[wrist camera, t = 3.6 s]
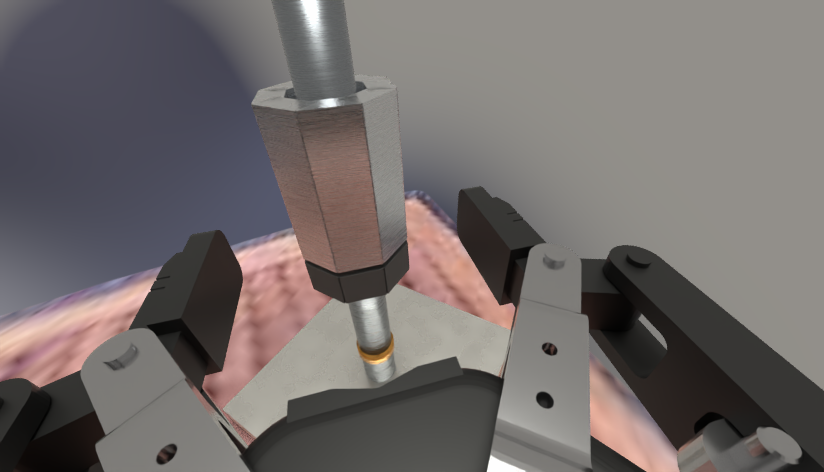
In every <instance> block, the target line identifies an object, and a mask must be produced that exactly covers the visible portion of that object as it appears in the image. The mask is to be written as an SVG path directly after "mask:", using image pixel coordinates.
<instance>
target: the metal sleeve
mask: <svg viewBox="0 0 824 472" xmlns="http://www.w3.org/2000/svg"><path fill="white" fill-rule="evenodd" d="M354 76H355V83H356V91H357V93H355V94H352V95H349V96H347V97H341V98H332V99H323V100H314V101H305V100H298V99H296V96H295V92H294V88H293V84H292V81H289V82H285V83H282V84H279V85H275V86H271V87H268V88H265V89H261V90H259V91H258V92H257V94H256V96H255V98H254V100H253V102H252V103H251V104H252V108H253V111H254V113H255V116H256V119H257V123H258V125H259V128H260V131H261V134H262V137H263V140H264V143H265V146H266V149H267V152H268V155H269V158H270V161H271V164H272V167H273V170H274V173H275V176H276V179H277V181H278V185H279V187H280V190H281V193H282V196H283V199H284V202H285V205H286V208H287V211H288V214H289V217H290V220H291V223H292V226H293V229H294V232H295V235H296V238H297V241H298V244H299V247H300V249H301V252H302V255H303V258H304V259H305V260H307V261H310V262H312V263H314V264H317V265H319V266H321V267H324V268H326V269H328V270H330V271H333V272H335V273H337V272H338V273H342V272H347V271H351V270H356V269H361V268H366V267H371V266H376V265H381V264H383V263H385V262H386V261H387V260H388V259H389V258H390V257H391V256H392V254H393V253H394V252H395V251H396V250H397V249H398V248H399V247H400V246H401V245H402V244H403V243H404V242H405V241H406V240H407V227H406V213H405V198H404V184H403V169H402V154H401V140H400V126H399V110H398V96H397V87H396V86H395V85H394V84H393V83H392V82H391V81H390V80H389V79H388V78H387V77H381V76H369V75H356V74H354Z"/></svg>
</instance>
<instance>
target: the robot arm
mask: <svg viewBox="0 0 824 472" xmlns="http://www.w3.org/2000/svg"><path fill="white" fill-rule="evenodd" d="M458 197H459V198H458V214H457V231H458V236H459V239H460V241H461V243H462V244H463V246H464V248H465V249H466V251H467V252H468V254H469V256H470V257H471V259H472V261H473V262H474V264H475V265H476V267H477V269H478V270H479V272H480V274H481V275H482V277H483V279H484V280H485V282H486V283H487V285H488V287H489V288H490V290H491V292H492V293H493V295H494V297H495V298H496V300H497V301H498V303H499V305H504V304H508V303H513V305H514V306H515V313H514V317H513V322H512V327H511V331H510V336H509V341H508V346H507V351H506V355H505V360H504V365H503V369H502V373H501V378H500V377H498V376H496V375H494V374H491V373H488V372H485V371H481V370H477V369H470V368H461V367H460V364H459V362H458V359H457V357H456V356H454V357H451V358H447V359H443V360H439V361H436V362H432V363H428V364H424V365H420V366H417V367H415V368H413V369H412V370H410V371H408V372H406V373H404V374H403V375H401V376H399V377H397V378H395V379H394V380H392V381H390V382H388V383H386V384H385V385H383V386H381V387H378V388H360V389H329V390H326V391H322V392H318V393H314V394H310V395H307V396H303V397H299V398H295V399H291V400H288V405H287V416H285V417H283V418H281V419H280V420H278V421H277V422H275V423H274V424H272V425H271V426H270V427H269V428H267V429H266V430H265V431H264V432H262V433H261V434H260V435H259V436H258V437H257V438H256V439H255V440H254V441H253V442H252V443H251V444H250V445H249V446H248V445H247V444H246V443H245V442H244V440H243V439H242V438H241V437H240V436H239V434H238V433H237V432H236V430H235V429H234V428H233V426H232V425H231V424H230V422H229V421H228V420H227V418H226V417H225V416H224V414H223V413H222V412H221V410H220V409H219V408H218V406H217V405H216V404H215V402H214V401H213V400H212V398H211V397H210V396H209V394H208V393H207V392H206V390H205V389H204V388H203V387H202V384H203V381H204V377H205V375H209V374H213V373H217V372H221V371H222V369H223V365H224V361H225V357H226V352H227V348H228V344H229V339H230V335H231V331H232V326H233V322H234V318H235V314H236V309H237V305H238V301H239V296H240V292H241V288H242V283H243V276H242V270H241V267H240V265H239V263H238V261H237V259H236V257H235V255H234V253H233V251H232V249H231V247H230V245H229V243H228V241H227V239H226V237H225V235H224V234H223V233H222V232H221V231H220V230H215V231H209V232H203V233H197V234H192V235H191V236H190V238H189V240H188V242H187V244H186V246H185V248H184V250H183V252H180V253H176V254H175V255H174V256H173V257H172V258H171V259H170V260H169V261H168V262H167V263H166V264H164V265H163V267H162V269H161V271H160V272H159V274H158V276H157V278H156V279H157V281H155V282H154V284H153V285H152V287H151V289H150V290H151V292H149V293H148V295H147V296H146V298H145V300H144V302H143V304H142V306H141V308H140V309H139V311H138V313H137V315H136V317H135V319H134V321H133V322H132V324H131V326H130V328H129V330H128V331H125V332H122V333H120V334H118V335H116V336H114V337H112V338H110V339H109V340H107V341H105V342H104V343H103V344H101V345H100V346H99V347H98V348H96V349H95V350H94V351H93V352H92V353H91V354H90V355H89V357H88V358H87V359H86V361H85V362H84V364H83V366H82V369H81V370H80V371H77V372H75V373H73V374H71V375H68V376H66V377H64V378H61V379H59V380H57V381H54V382H52V383H50V384H48V385H45V386H43V387H41V388H39V387H38V386H36V385H35V384H33V383H31V382H30V381H28V380H26V379H22V378H15V379H9V380H5V381H2V382H0V472H646V471H644V470H643V469H641V468H640V467H638V466H637V465H635V464H634V463H632V462H631V461H629V460H628V459H626V458H625V457H623V456H621V455H620V454H618V453H617V452H615V451H614V450H612V449H611V448H609V447H608V446H606V445H605V444H603V443H602V442H600V441H599V440H597V439H595V438H594V437H592V436H591V435H590V381H589V333H590V335H591V336H592V337H593V339H594V340H595V341H596V343H597V344H598V345H599V347H600V348H601V349H602V351H603V352H604V353H605V355H606V356H607V357H608V359H609V360H610V361H611V363H612V364H613V365H614V367H615V368H616V369H617V371H618V372H619V373H620V375H621V376H622V377H623V379H624V380H625V381H626V383H627V384H628V385H629V387H630V388H631V389H632V391H633V392H634V393H635V395H636V396H637V397H638V399H639V400H640V401H641V403H642V404H643V405H644V407H645V408H646V409H647V411H648V412H649V414H650V415H651V416H652V418H653V419H654V420H655V422H656V423H657V424H658V426H659V427H660V428H661V430H662V431H663V432H664V434H665V435H666V436H667V438H668V439H669V440H670V442H671V443H672V444H673V446H674V447H675V448H676V450H677V451H678V454H677V461H678V467H679V470H680V472H824V391H823V390H822V389H821V388H819V387H818V386H817V385H816V384H815V383H814V382H812V381H811V380H810V379H808V378H807V377H806V376H805V375H804V374H802V373H801V372H800V371H799V370H797V369H796V368H795V367H794V366H793V365H791V364H790V363H789V362H788V361H786V360H785V359H784V358H783V357H782V356H780V355H779V354H778V353H777V352H775V351H774V350H773V349H772V348H770V347H769V346H768V345H767V344H765V343H764V342H763V341H762V340H761V339H759V338H758V337H757V336H756V335H754V334H753V333H752V332H751V331H750V330H748V329H747V328H746V327H745V326H744V325H742V324H741V323H740V322H739V321H737V320H736V319H735V318H733V317H732V316H731V315H730V314H729V313H728V312H726V311H725V310H724V309H723V308H721V307H720V306H719V305H718V304H716V303H715V302H714V301H713V300H712V299H710V298H709V297H708V296H707V295H705V294H704V293H703V292H702V291H700V290H699V289H698V288H697V287H696V286H694V285H693V284H692V283H691V282H689V281H688V280H687V279H686V278H685V277H683V276H682V275H681V274H679V273H678V272H677V271H676V270H675V269H673V268H672V267H671V266H670V265H669V264H667V263H666V262H665V261H664V260H662V259H661V258H660V257H659V256H657V255H656V254H654V253H652V252H650V251H648V250H646V249H643V248H640V247H636V246H628V245H622V246H617V247H615V248H613V249H612V250H611V251H610V253H609V255H608V257H607V259H606V260H605V259H580V258H579V257H578V255H577V254H576V253H574V252H573V251H572V250H570V249H569V248H567V247H564V246H562V245H558V244H553V243H546V242H545V241H544V240H543V239H542V238H541V237H540V236H539V235H538V234H537V233H536V231H534V229H533V228H532V227H531V226H530V225H529V224H528V223H527V222H526V221H525V220H523V218H522V217H521V216H520V215H519V214H517V212H516V211H515V209H514V208H512V206H511V205H510V204H509V203H507V202H505V201H503V200H501V199H499V198H497V197H495V198H492V197H491V196H490V195H489V194H488V193H487V192H486V190H484V188H483V187H481V186H479V187H473V188H468V189H462V190H460V192H459V196H458ZM641 314H643V315H644V316H645V317H646V318H647V320H649V322H650V323H651V324H652V325H653V326H654V327H655V328H656V329H657V330H658V331H659V332H660V333H661V334H662V335H663V337H664V339H665V341H666V343H667V350H666V349H665V348H664V347H663V345H662V344H661V343H660V342H659V341H658V340H657V339H656V338H655V337H654V336H653V335H652V334H651V333H650V332H649V330H648V329H647V328H646V327H645V326H644V325H643V324H642V323H641V322H640V321H639V320H638V319H639V317H640V316H641Z"/></svg>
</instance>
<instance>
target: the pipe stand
mask: <svg viewBox="0 0 824 472" xmlns="http://www.w3.org/2000/svg"><path fill="white" fill-rule="evenodd" d="M271 1H272V5H273V9H274V13H275V17H276V21H277V25H278V29H279V33H280V37H281V41H282V45H283V49H284V53H285V56H286V60H287V64H288V68H289V72H290V76H291V80H292V84H293V88H294V92H295V96H296V99H298V100H305V101H314V100H323V99H332V98H341V97H347V96H349V95H352V94H355V93H357V91H356V83H355V76H354V69H353V62H352V55H351V48H350V41H349V34H348V27H347V20H346V13H345V6H344V0H271ZM510 331H511V330H509V329H506V328H504V327H501V326H499V325H496V324H494V323H491V322H489V321H486V320H484V319H482V318H479V317H477V316H474V315H472V314H469V313H467V312H464V311H462V310H460V309H457V308H455V307H452V306H450V305H447V304H445V303H442V302H440V301H437V300H435V299H433V298H430V297H428V296H425V295H423V294H420V293H418V292H415V291H413V290H411V289H408V288H406V287H403V286H401V285H398V284H396V285H395V286H394V288H393V289H392V290H391V291H390V292H389V294H388V293H387V295H383V296H379V297H374V298H370V299H365V300H361V301H356V302H352V303H347V304H346V303H345V304H344V303H342V302H340V301H338V300H336V299H334V298H333V299H332V300H331V301H330V302H329V303H328V304H327V305H326V306H325V307H324V308H323V309H322V310H321V311H320V312H319V313H318V314H317V315H316V316H315V317H314V318H313V319H312V320H311V321H310V322H309V323H308V324H307V325H306V326H305V327H304V328H303V329H302V330H301V331H300V332H299V333H298V334H297V335H296V336H295V337H294V338H293V339H292V340H291V341H290V342H289V343H288V344H287V345H286V346H285V347H284V348H283V349H282V350H281V351H280V352H279V353H278V354H277V355H276V356H275V357H274V358H273V359H272V360H271V361H270V362H269V363H268V364H267V365H266V366H265V367H264V368H263V369H262V370H261V371H260V372H259V373H258V374H257V375H256V376H255V377H254V378H253V379H252V380H251V381H250V382H249V383H248V384H247V385H246V386H245V387H244V388H243V389H242V390H241V391H240V392H239V393H238V394H237V395H236V396H235V397H234V398H233V399H232V400H231V401H230V402H229V403H228V404H227V405H226V406H225V407H224V408H223V409H222V410H223V411H224V412H225V413H226V414H227V415H228V416H229V417H230V418H231V420H232V421H234V422H235V423H236V424H237V425H238V426H239V427H241V428H242V429H243V430H244V431H245V432H247V433H248V434H249V435H250V436H251V437H252V438H254V439H256V438H257V437H258V436H259V435H260V434H261V433H262V432H264V431H265V430H266V429H267V428H269V427H270V426H271V425H272V424H274V423H275V422H277V421H278V420H280V419H281V418H283V417H285V416H287V405H288V400H291V399H295V398H299V397H303V396H307V395H310V394H314V393H318V392H322V391H326V390H329V389H360V388H378V387H381V386H383V385H385V384H386V383H388V382H390V381H392V380H394V379H395V378H397V377H399V376H401V375H403V374H404V373H406V372H408V371H410V370H412V369H413V368H415V367H417V366H420V365H424V364H428V363H432V362H436V361H439V360H443V359H447V358H451V357H454V356H456V357H457V359H458V362H459V364H460V367H461V368H470V369H477V370H481V371H485V372H488V373H491V374H494V375H496V376H498V377H500V374H501V372H502V369H503V365H504V360H505V355H506V351H507V346H508V341H509V336H510Z"/></svg>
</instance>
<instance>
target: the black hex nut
mask: <svg viewBox="0 0 824 472" xmlns="http://www.w3.org/2000/svg"><path fill="white" fill-rule="evenodd" d="M305 264H306V267H307V270H308V273H309V276H310V279H311V282H312V285H313V288H314V289H315V290H317V291H319V292H321V293H323V294H326V295H328V296H330V297H332V298H334V299H336V300H338V301H340V302H342V303H344V304H345V303H346V304H347V303H352V302H356V301H361V300H365V299H370V298H374V297H379V296H383V295H387V293H388V294H389V292H390V291H391V290H392V289H393V288H394V286H395V285H396V284H397V283H398V282H399V280H400V279H401V278H402V277H403V276H404V274H405V273H406V272H407V271H408V270H409V256H408V243H407V240H406V241H405V242H404V243H403V244H402V245H401V246H400V247H399V248H398V249H397V250H396V251H395V252H394V253H393V254H392V256H391V257H390V258H389V259H388V260H387V261H386V262H385V263H383V264H381V265H376V266H371V267H366V268H361V269H356V270H351V271H347V272H342V273H338V272H337V273H335V272H333V271H330V270H328V269H326V268H324V267H321V266H319V265H317V264H314V263H312V262H310V261H307V260H305Z"/></svg>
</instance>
